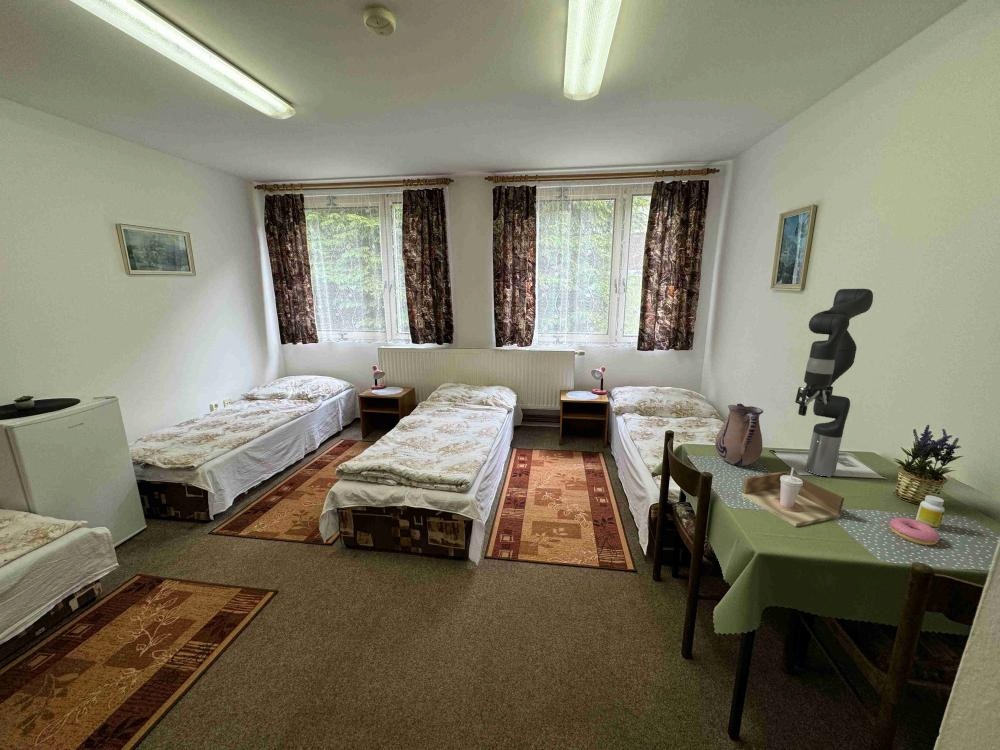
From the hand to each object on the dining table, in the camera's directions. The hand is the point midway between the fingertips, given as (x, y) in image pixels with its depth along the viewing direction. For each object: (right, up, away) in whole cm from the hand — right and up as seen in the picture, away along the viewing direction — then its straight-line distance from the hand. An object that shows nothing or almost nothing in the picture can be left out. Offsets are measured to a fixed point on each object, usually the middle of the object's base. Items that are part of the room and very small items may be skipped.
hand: (810, 414), depth 143 cm
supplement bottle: (+26, -35, -15) cm, 46 cm away
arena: (-12, -32, -5) cm, 34 cm away
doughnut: (+15, -36, -20) cm, 44 cm away
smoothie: (-14, -31, -7) cm, 34 cm away
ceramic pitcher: (-9, -24, +29) cm, 39 cm away
